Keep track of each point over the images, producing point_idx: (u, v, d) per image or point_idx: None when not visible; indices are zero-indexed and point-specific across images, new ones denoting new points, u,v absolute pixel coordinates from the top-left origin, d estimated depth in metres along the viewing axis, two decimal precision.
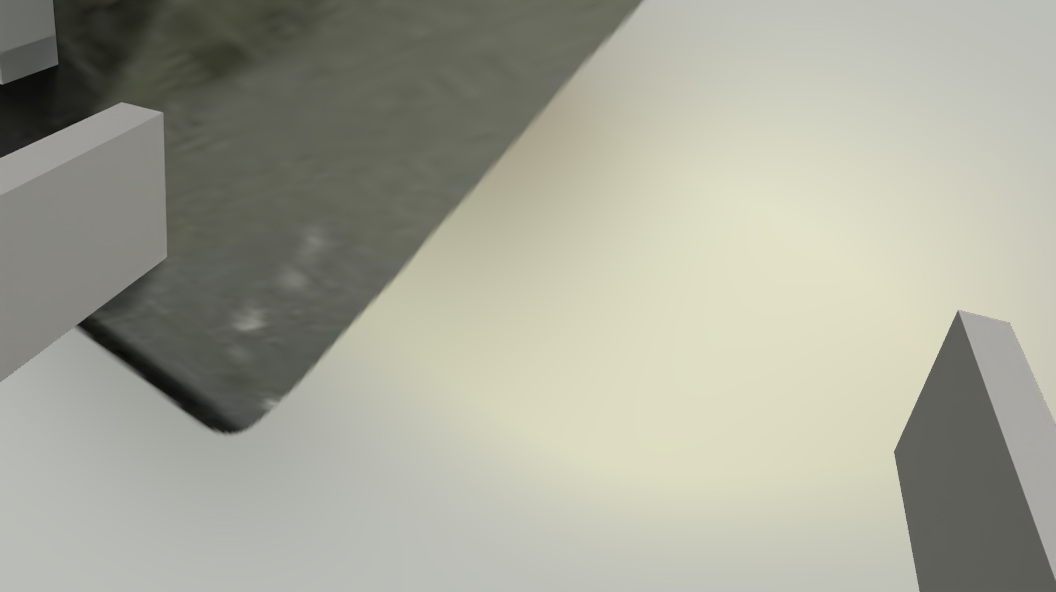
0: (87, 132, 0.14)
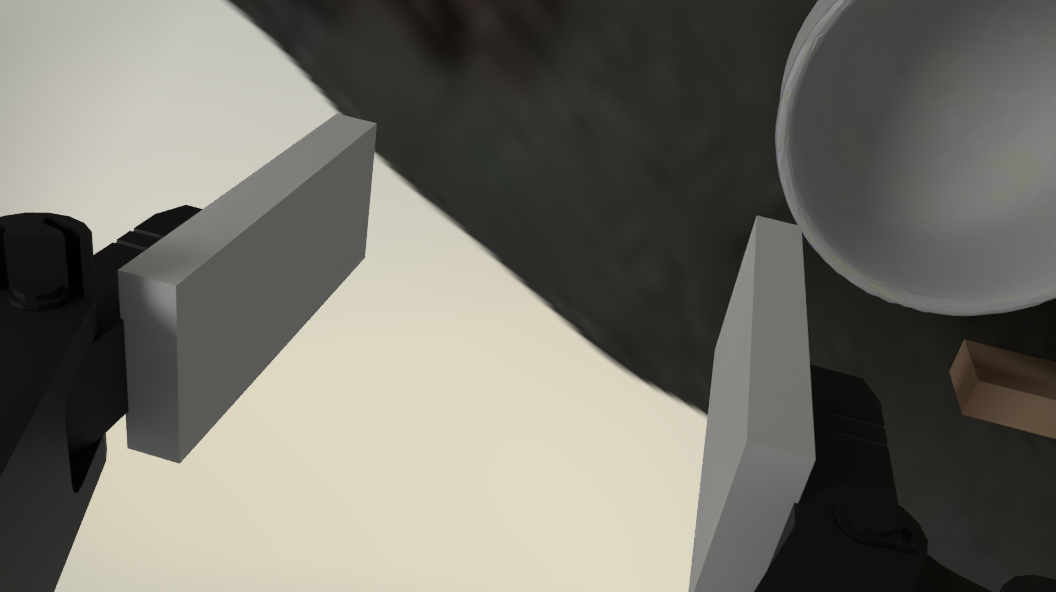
0: (322, 142, 0.16)
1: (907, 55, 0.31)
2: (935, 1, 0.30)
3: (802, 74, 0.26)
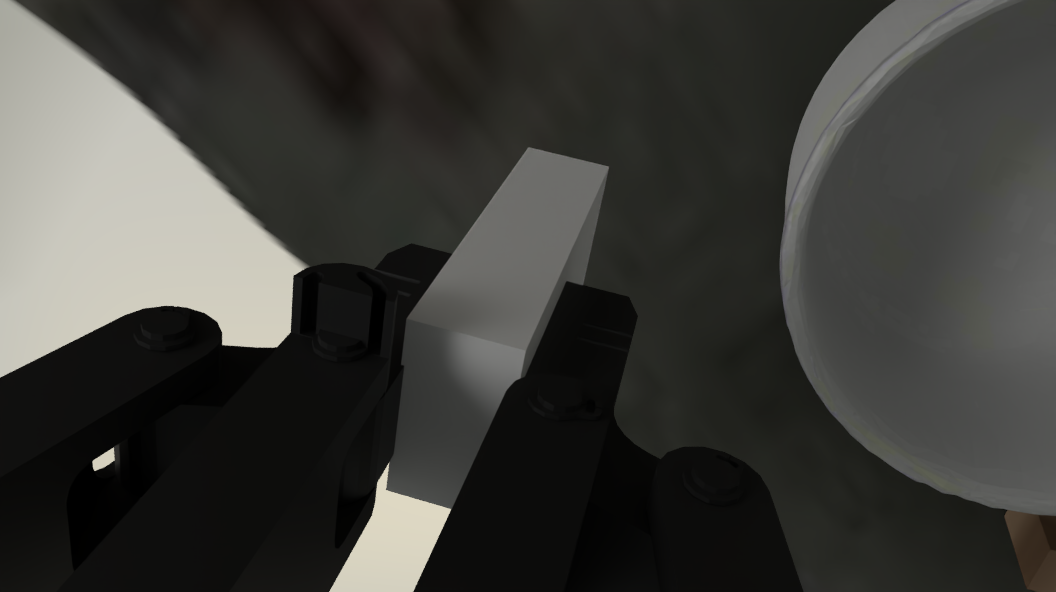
0: (528, 178, 0.16)
1: (961, 123, 0.23)
2: (1003, 51, 0.22)
3: (820, 178, 0.17)
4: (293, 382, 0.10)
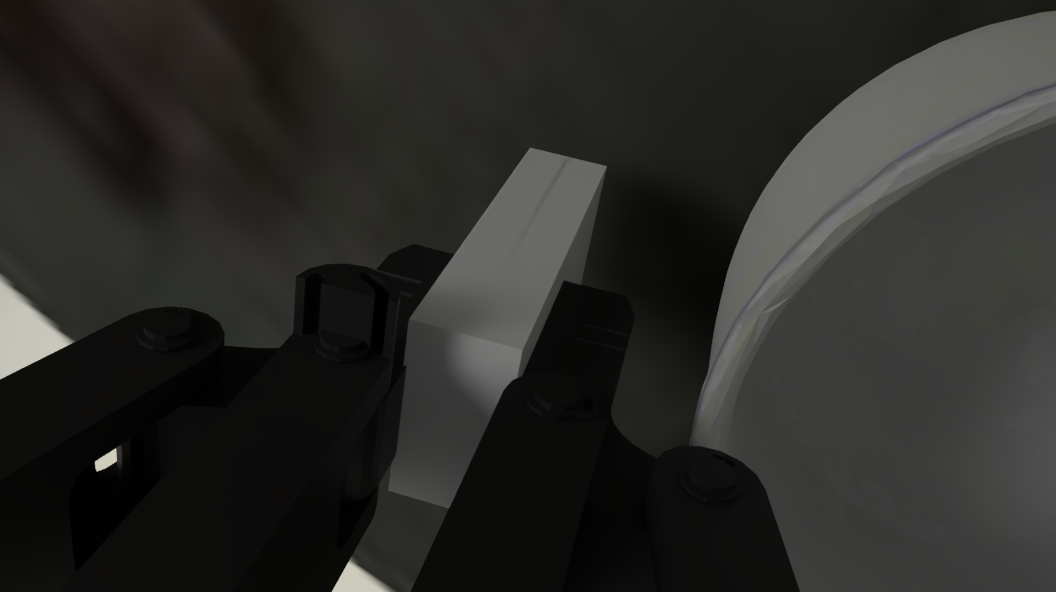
0: (531, 178, 0.16)
1: (956, 243, 0.17)
2: (1010, 150, 0.16)
3: (737, 382, 0.11)
4: (296, 382, 0.10)
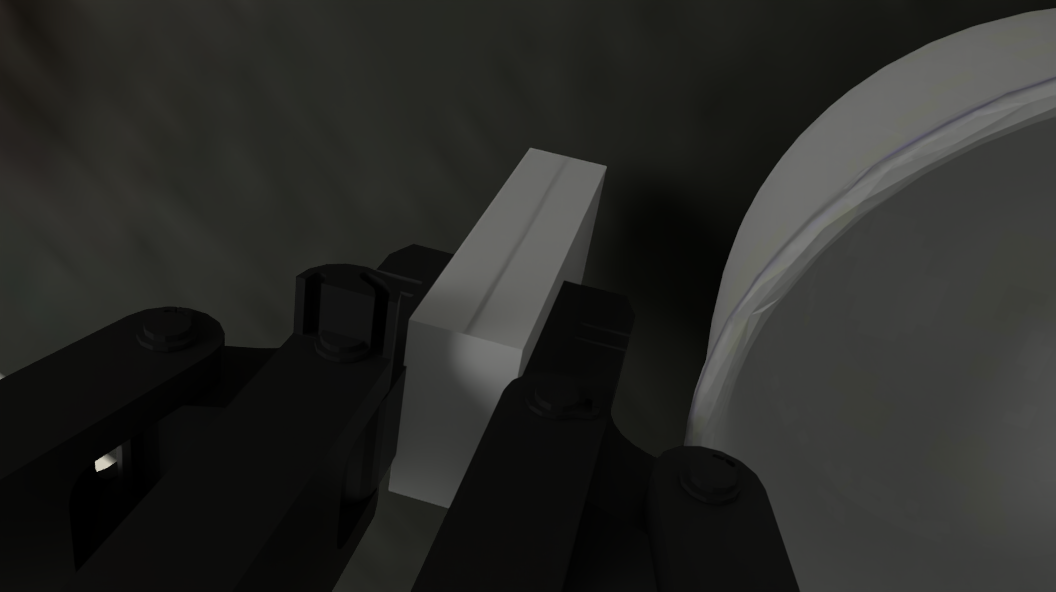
0: (531, 178, 0.16)
1: (951, 241, 0.17)
2: (1003, 148, 0.16)
3: (730, 382, 0.12)
4: (296, 382, 0.10)
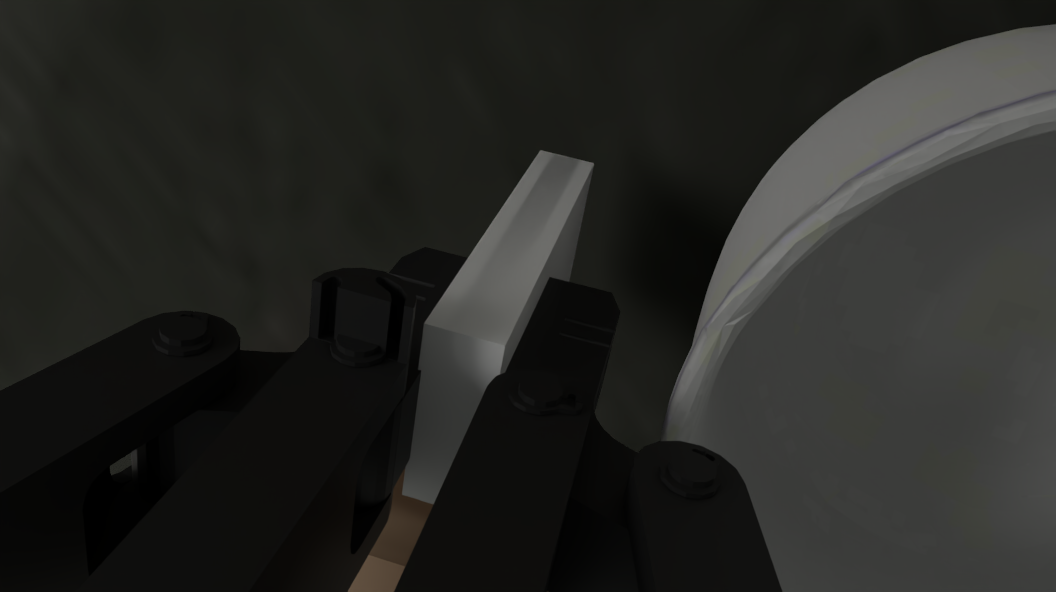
0: (541, 181, 0.16)
1: (943, 255, 0.17)
2: (995, 163, 0.16)
3: (703, 392, 0.12)
4: (311, 387, 0.10)
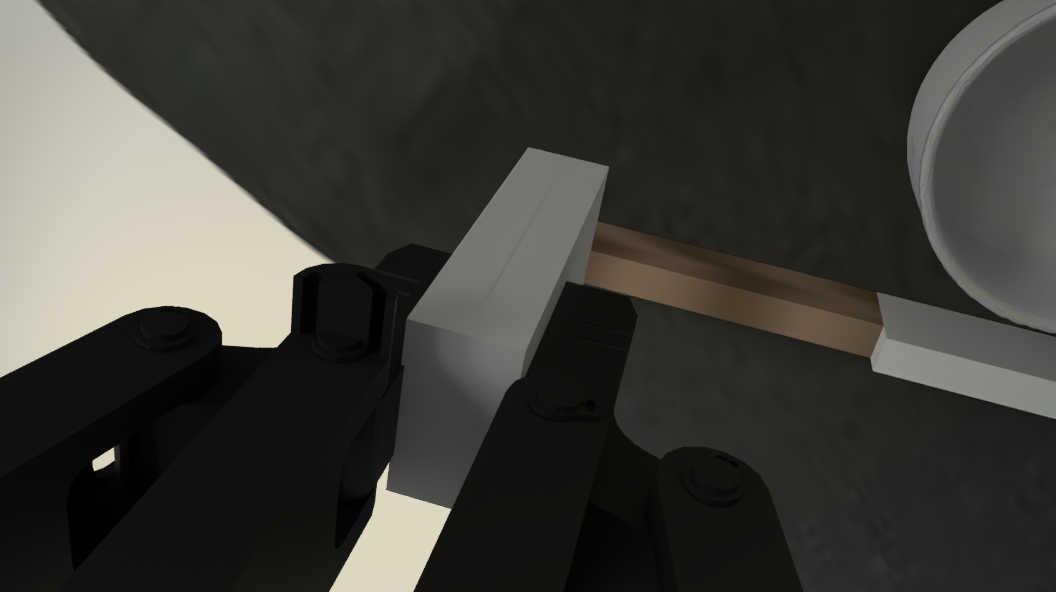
0: (529, 178, 0.16)
1: (1022, 95, 0.34)
2: (1050, 47, 0.33)
3: (948, 118, 0.29)
4: (294, 382, 0.10)
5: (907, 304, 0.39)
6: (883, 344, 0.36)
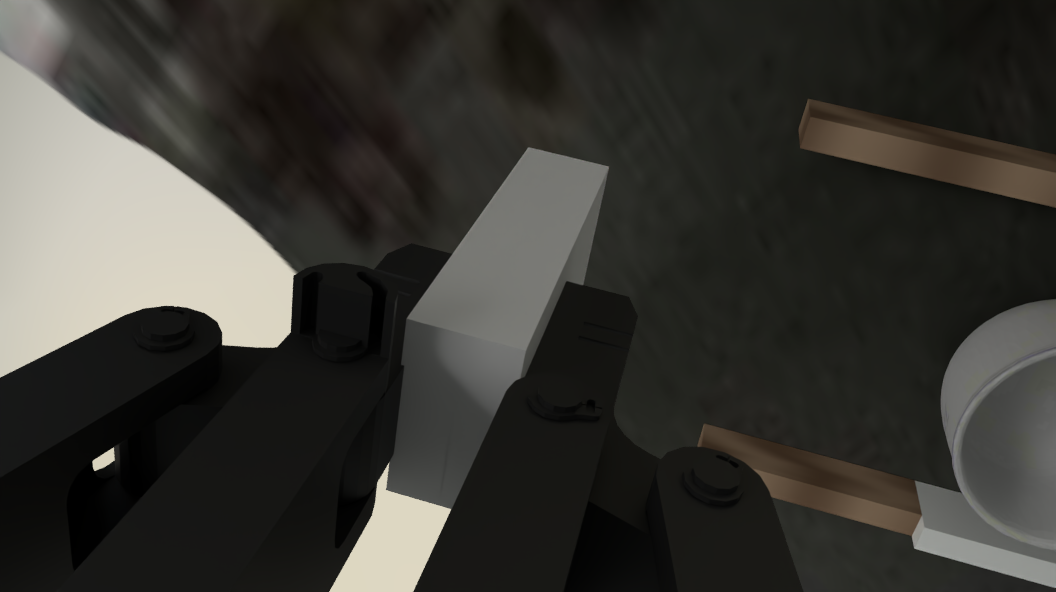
0: (529, 178, 0.16)
1: None
2: None
3: (972, 413, 0.42)
4: (293, 382, 0.10)
5: (938, 491, 0.53)
6: (922, 531, 0.50)
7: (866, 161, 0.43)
